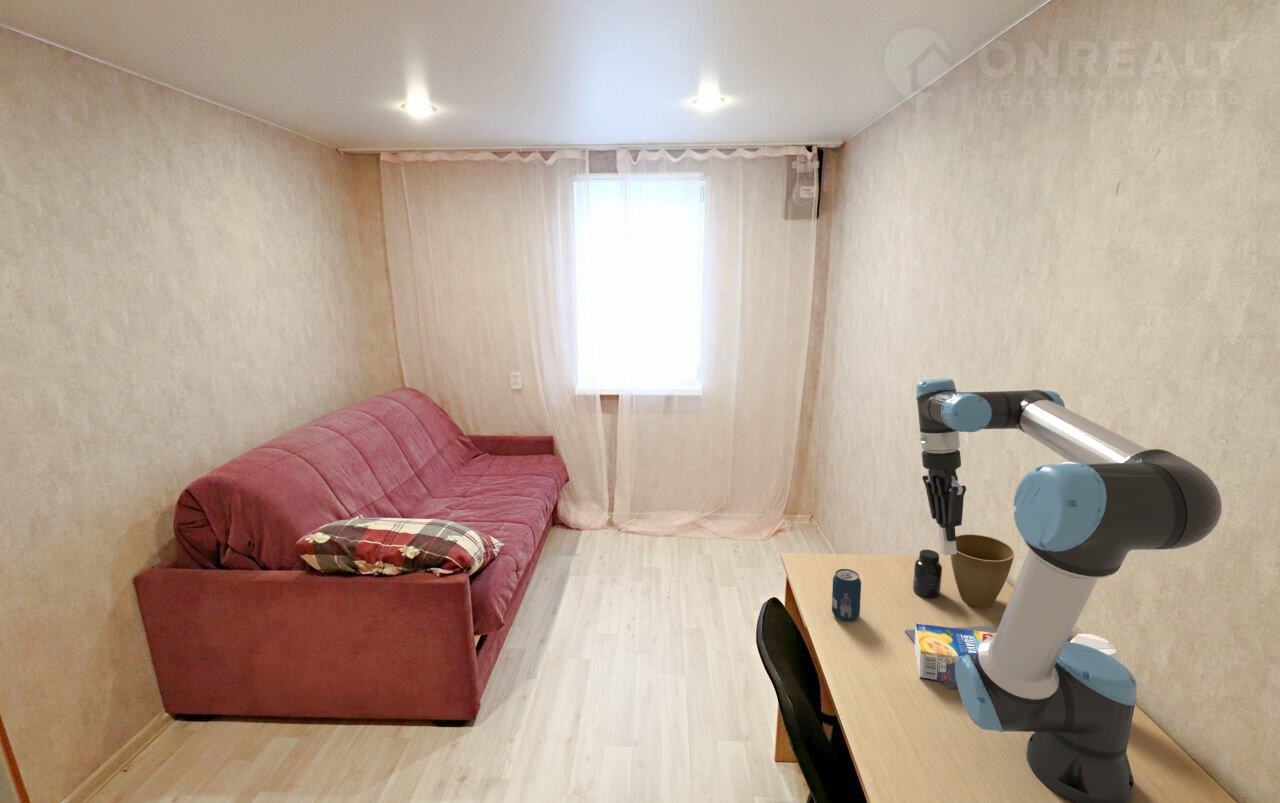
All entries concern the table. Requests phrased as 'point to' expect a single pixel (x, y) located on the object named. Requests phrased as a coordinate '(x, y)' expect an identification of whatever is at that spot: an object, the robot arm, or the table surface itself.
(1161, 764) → the table surface
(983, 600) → the plant pot
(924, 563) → the supplement bottle
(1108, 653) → the paper cup
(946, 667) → the beverage box
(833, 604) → the soda can
